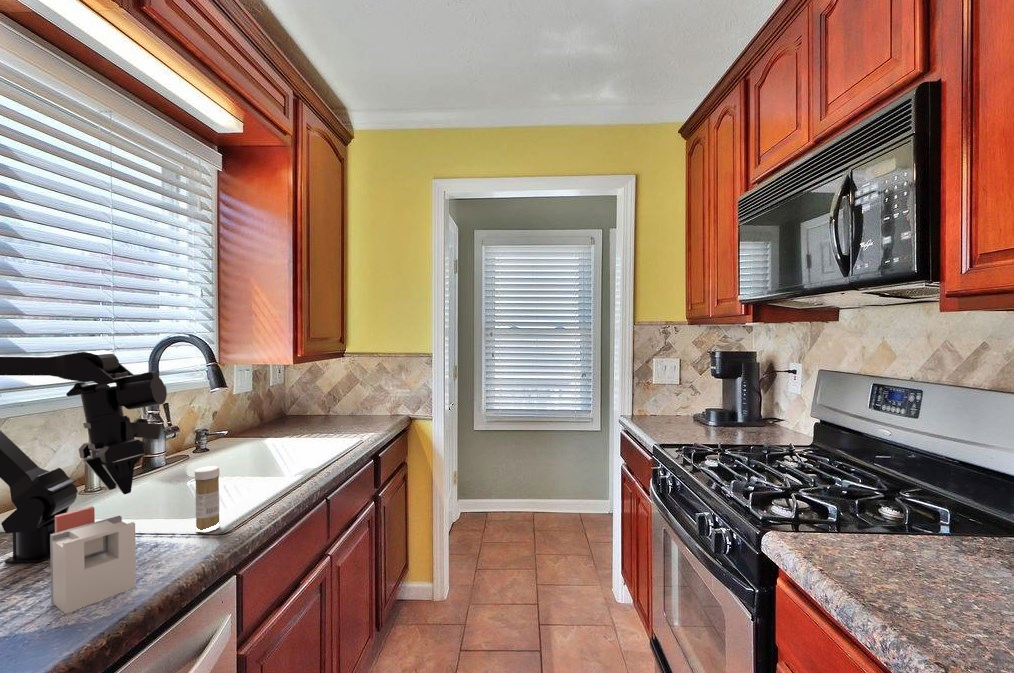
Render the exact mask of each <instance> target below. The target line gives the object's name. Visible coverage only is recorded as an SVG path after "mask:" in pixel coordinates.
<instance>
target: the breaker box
mask: <svg viewBox="0 0 1014 673" xmlns="http://www.w3.org/2000/svg"><path fill="white" fill-rule="evenodd" d="M122 518H123V516H121V515H116V516H112V517H109V518H105V519H102V520H98V521H95V522H94V523H90V524H87V525H83V526H79V527H76V528H72V529H68V530H65V531H61V532H57V533H54V534H50V555H51V557H50V602H51V603H52V604H53V605H54V606H55V607H57V608H58V609H59V610H60V611H61V612H62V613H64V614H65V615H67V614H70V613H72V612H75V611H78V610H80V609H83V608H86V607H87V605H88V606H91V605H92V604H95V603H97V602H98V603H99V602H100V601H103V600H105V599H108V598H111V597H113V596H116V595H119V594H121V593H123V592H126V591H129V590H132V589H133V588H136V587H137V579H136V578H137V575H136V574H137V571H136V569H137V566H136V565H137V564H136V561H137V560H136V558H137V557H136V523H135V522H134V521H133V522H129V523H127V522H125V521H123V520H122ZM102 536H103V550H101V551H98V552H95V553H92V554H88V555H85V556H84V542H85V541H89V540H92V539H95V538H99V537H102ZM82 607H83V608H82ZM77 609H78V610H77Z"/></svg>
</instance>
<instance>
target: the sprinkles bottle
mask: <svg viewBox="0 0 1014 673" xmlns="http://www.w3.org/2000/svg"><path fill="white" fill-rule="evenodd" d="M220 475H221V474H220V467H219V465H218V466H217V465H208V466H202V467H198V468H196V469H195V470H194V481H195V494H194V495H195V519H196V520H195V526H196V527H197V528H198V529H200V530H203V529H206V528H209V527H211V526H214V525H216V524H217V523H218V522H219V523H220V486H219V485H220V483H219V481H220V480H219V478H220ZM196 527H195V528H196Z"/></svg>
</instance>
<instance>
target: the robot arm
mask: <svg viewBox="0 0 1014 673" xmlns="http://www.w3.org/2000/svg"><path fill="white" fill-rule="evenodd" d="M0 376H13V377H14V376H18V377H19V376H20V377H21V376H29V377H30V376H31V377H32V376H34V377H35V376H36V377H37V376H42V377H43V376H44V377H45V376H50V377H57V378H60V379H63V380H69V381H75V382H76V383H74V385H73V387H71V389H70V390H69V391H68V392H66V395H65V396H67V397H75V396H80V397H81V404H82V409H83V413H84V418H85V422H83V423H82V424H83V428H84V429H87V432H88V433H87V435H88V439H89V441H88V442H85V443H82V445H81V446H80V447H79V448H78V453H79V458H80V459H82V461H83V463H85V465H87V466H88V468H89V469H90V470H91V471H92V472H93V473H94V474H95V475H96V476H97V478H98V479H99V480H100V481H101V482H102V484H103V485H104V486H105V487H106V488H107V489H108V490H109V491H111V490H115V489H116V488H118V489H119V490H120V492H121V493H122V494H123V495H127V494H130V493H131V492H132V487H133V480H134V472H135V468H136V467H135V466H136V464H137V463H138V462H139V460H141V459H142V458H143V457H144V456H145V453H147V446H146V442H144V441H143V440H140V439H141V438H144V439H145V440H147V439H148V440H149V439H150V440H160V435H161V431H162V426H163V424H162V423H151V422H150V423H149V421H148V418H135V419H134V420H133V422H132V421H131V418H130V416H128V415H124V414H125V413H124V409H123V407H124V408H125V409H126V410H129V411H130V410H136V409H141V408H147V407H153V406H160V405H163V404H164V403H166V400H167V395H168V392H167V390H168V389H167V386H166V385H165V384H164V382H163V380H162V379H161V377H159V375H158V371H155V370H154V371H149V372H143V373H141V374H134V373H133V372H131V371H130V370H129V369H127V368H126V366H124V365H123V364H121V363H120V362H119V359H118V357H117V356H116V355H115V354H114V353H113V352H111V351H109V350H95V351H93V350H92V351H83V352H82V351H81V352H74V353H68V354H61V355H60V354H59V355H0ZM87 382H88V383H89V382H93V384H88V383H87ZM114 383H115V385H112V386H110V385H109V384H114ZM137 438H140V439H137ZM0 479H1V481H3V482H4V484H6V485H7V487H9V493H10V501H11V503H12V505H13V506H14V508H15V510H14V511H13V512H11V513H10V515H9V516H7V517H6V518H5V519H4V520H3V521H1V523H0V525H1V526H2V529H3V531H4V533H5V534H12V556H11V557H9V558H6V559H5V560H4V564H16V563H17V564H21V563H22V564H24V563H25V564H26V563H28V564H29V563H40V562H43V561H45V560H47V559H49V558H51V555H50V534H54V533H55V516H56V515H60V514H64V513H68V512H69V509H70V507H71V506H72V505H73V504H74V503H75V501H76V500H77V496H78V488H77V487H76V485H75V483H76V480H74V479H72V478H70V477H69V476H68V475H67V473H66V472H65V470H63V469H62V468H61V467H57V468H54V469H51V470H50V471H49V470H47V469H43V468H41V467H40V466H39V465H38V464H37V463H35V462H34V461H33V460H32V459H31V457H29V456H28V455H27V454H26V453H25V452H24V451H23V450H22V449H21V448H20V447H18V446H17V445H16V444H15V443H14V442H13V441H12V440H11V439H10V438H9V437H8V436H7V435H6V434H5V433H4V432H3V431H2V430H1V429H0Z"/></svg>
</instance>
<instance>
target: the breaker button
mask: <svg viewBox="0 0 1014 673" xmlns="http://www.w3.org/2000/svg"><path fill="white" fill-rule="evenodd" d="M95 512H96V511H95V507H94V506H88V507H84V508H80V509H75V510H72V511H67V513H64V514H60V515H56V516H55V533H57V532H61V531H65V530H68V529H72V528H76V527H79V526H83V525H87V524H90V523H94V522H96V521H95V520H96V519H95V516H96V515H95ZM101 550H103V536H102V537H99V538H95V539H92V540H89V541H85V542H84V556H85V555H88V554H92V553H95V552H98V551H101Z"/></svg>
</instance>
